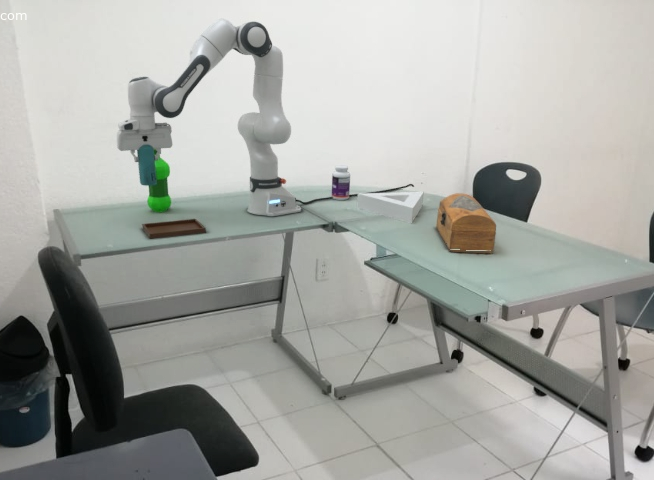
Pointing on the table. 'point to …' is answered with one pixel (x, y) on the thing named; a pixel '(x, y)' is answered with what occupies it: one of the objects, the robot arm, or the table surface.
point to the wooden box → (465, 224)
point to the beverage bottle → (147, 164)
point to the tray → (173, 228)
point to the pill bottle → (340, 183)
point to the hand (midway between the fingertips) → (146, 161)
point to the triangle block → (392, 204)
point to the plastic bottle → (160, 187)
